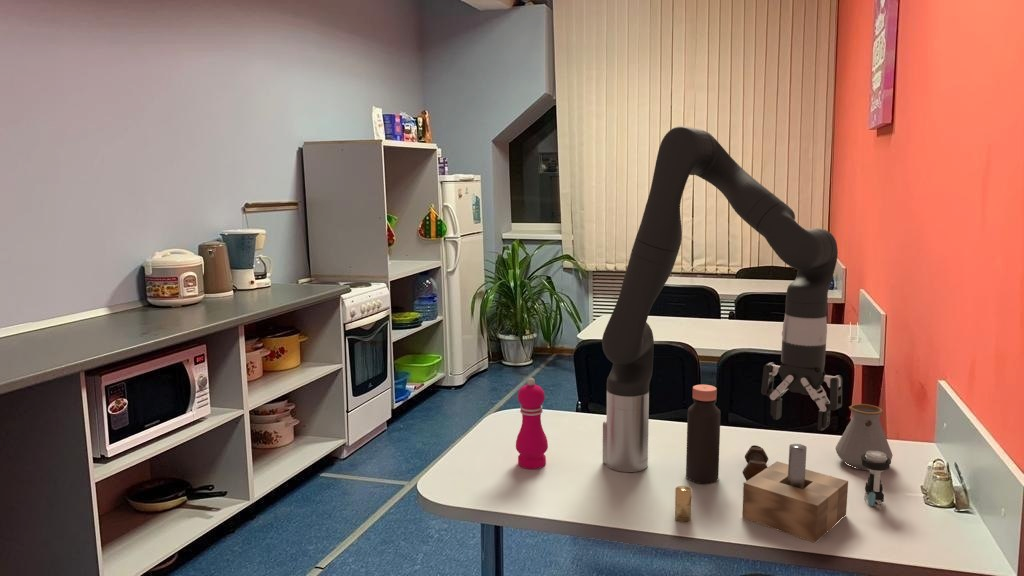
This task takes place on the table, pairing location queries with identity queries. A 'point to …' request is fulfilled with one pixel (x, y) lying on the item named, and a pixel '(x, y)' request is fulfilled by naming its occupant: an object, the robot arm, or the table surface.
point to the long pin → (797, 465)
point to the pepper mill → (531, 427)
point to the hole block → (795, 502)
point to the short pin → (683, 504)
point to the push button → (875, 476)
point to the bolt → (754, 462)
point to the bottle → (703, 436)
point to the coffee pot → (862, 436)
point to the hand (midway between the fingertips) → (798, 423)
